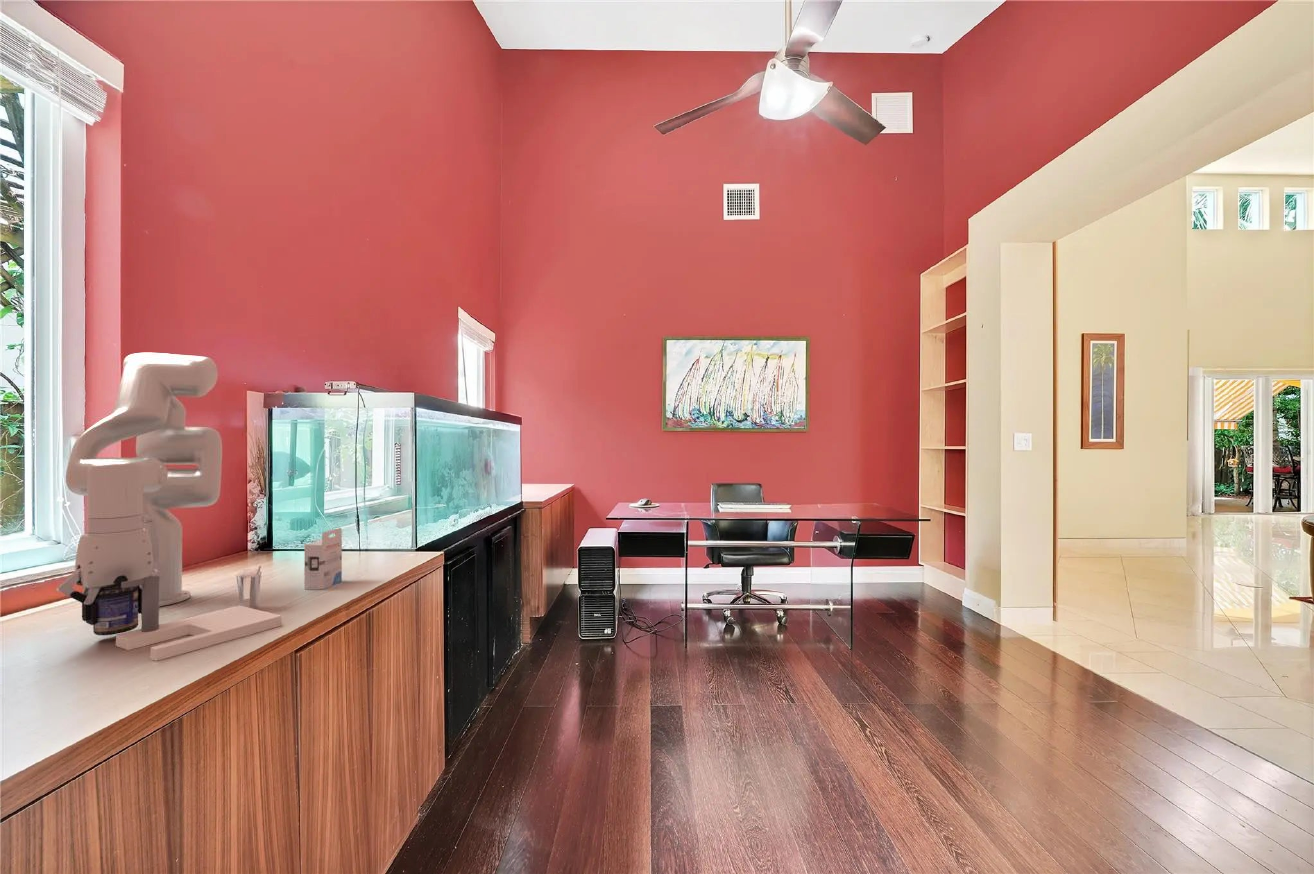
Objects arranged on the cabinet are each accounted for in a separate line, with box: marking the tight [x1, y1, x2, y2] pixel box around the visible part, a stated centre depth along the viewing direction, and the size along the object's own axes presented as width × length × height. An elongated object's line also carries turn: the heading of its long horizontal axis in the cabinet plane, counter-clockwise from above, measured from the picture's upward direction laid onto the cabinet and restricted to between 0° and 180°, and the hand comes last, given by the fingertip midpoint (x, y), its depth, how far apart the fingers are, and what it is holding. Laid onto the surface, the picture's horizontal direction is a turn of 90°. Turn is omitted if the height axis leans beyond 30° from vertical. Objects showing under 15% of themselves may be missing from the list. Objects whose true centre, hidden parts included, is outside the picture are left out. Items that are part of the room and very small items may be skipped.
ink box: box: [303, 527, 343, 591], centre depth 141 cm, size 9×5×15 cm, turn 179°
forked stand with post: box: [115, 576, 282, 662], centre depth 104 cm, size 16×20×12 cm
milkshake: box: [235, 565, 262, 610], centre depth 120 cm, size 5×5×10 cm
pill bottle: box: [92, 575, 139, 636], centre depth 102 cm, size 6×6×11 cm
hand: (116, 616), depth 102 cm, fingers closed on pill bottle, 6 cm apart
